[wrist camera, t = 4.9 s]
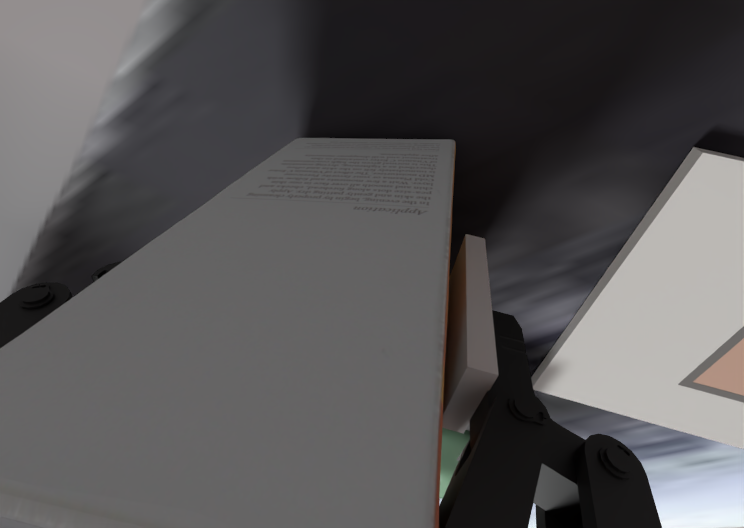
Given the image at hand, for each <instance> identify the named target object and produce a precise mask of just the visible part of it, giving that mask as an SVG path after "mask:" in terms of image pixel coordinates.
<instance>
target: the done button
mask: <svg viewBox="0 0 744 528" xmlns="http://www.w3.org/2000/svg"><path fill="white" fill-rule="evenodd" d="M469 439H470V432H469V431H468V430H465V432H464V434H463V433H459V432H456V431H452V430H449V429H445V428H442V449H441V471H440V494H439V498H442V499H443V497H444V494H445V492H446V490H447V487H448V485H449V483H450V480H451V478H452V476H453V473H454V471H455V469H456V466H457V464H458V462H459V461H457V458H458V457H459V455H460V454H461V452H462V450H463V449H464V447H465V446H466V444H467V443H468V441H469Z"/></svg>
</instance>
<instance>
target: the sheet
mask: <svg viewBox="0 0 744 528" xmlns="http://www.w3.org/2000/svg"><path fill="white" fill-rule="evenodd" d="M531 380H532V385H533V390H536V391H540V392H543V393H547V394H551V395H554V396H558V397H561V398H565V399H568V400H572V401H575V402H579V403H582V404H586V405H589V406H593V407H597V408H600V409H604V410H607V411H611V412H614V413H618V414H621V415H625V416H628V417H632V418H636V419H639V420H643V421H646V422H650V423H653V424H657V425H660V426H664V427H667V428H671V429H674V430H678V431H682V432H685V433H689V434H692V435H696V436H699V437H703V438H706V439H710V440H713V441H717V442H720V443H724V444H728V445H731V446H735V447H738V448H742V449H744V158H742V157H737V156H733V155H728V154H724V153H719V152H715V151H710V150H705V149H701V148H696V147H693V148H692V150H691V151H690V153H689V154H688V155H687V157H686V158H685V160H684V161H683V163H682V164H681V165H680V167H679V168H678V170H677V171H676V172H675V174H674V175H673V177H672V178H671V180H670V181H669V182H668V184H667V185H666V187H665V188H664V190H663V191H662V192H661V194H660V195H659V197H658V198H657V199H656V201H655V202H654V204H653V205H652V207H651V208H650V209H649V211H648V212H647V214H646V215H645V216H644V218H643V219H642V221H641V222H640V224H639V225H638V226H637V228H636V229H635V231H634V232H633V234H632V235H631V236H630V238H629V239H628V241H627V242H626V243H625V245H624V246H623V248H622V249H621V251H620V252H619V253H618V255H617V256H616V258H615V259H614V261H613V262H612V263H611V265H610V266H609V268H608V269H607V270H606V272H605V273H604V275H603V276H602V278H601V279H600V280H599V282H598V283H597V285H596V286H595V288H594V289H593V290H592V292H591V293H590V295H589V296H588V297H587V299H586V300H585V302H584V303H583V305H582V306H581V307H580V309H579V310H578V312H577V313H576V314H575V316H574V317H573V319H572V320H571V322H570V323H569V324H568V326H567V327H566V329H565V330H564V332H563V333H562V334H561V336H560V337H559V339H558V340H557V341H556V343H555V344H554V346H553V347H552V349H551V350H550V351H549V353H548V354H547V356H546V357H545V359H544V360H543V361H542V363H541V364H540V366H539V367H538V368H537V370H536V371H535V373H534V374H533V376H532V377H531Z"/></svg>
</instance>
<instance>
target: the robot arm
mask: <svg viewBox="0 0 744 528" xmlns="http://www.w3.org/2000/svg"><path fill="white" fill-rule="evenodd" d="M120 263H122V262H117V263H113V264H109V265H107V266H105V267H103V268H101V269H99V270H97V271H96V272H95V273H94V274H93V275H92V279H93V282H95V281H96V280H98V279H99V278H101V277H102V276H103V275H105V274H106V273H108V272H109V271H110V270H112V269H113V268H115V267H116V266H117V265H119V264H120ZM71 298H73V297H72V294H71V292H70V290H69V289H68V288H67V287H66V286H65V285H62V284H59V283H41V284H35V285H32V286H29V287H26V288H23V289H21V290H19V291H17V292H15V293H13V294H12V295H10V296H9V297H7V298H6V299H5V300H3V301H2V302H1V303H0V348H2V347H3V346H5V345H6V344H8V343H9V342H10V341H12V340H13V339H15V338H16V337H18V336H19V335H21V334H22V333H24V332H25V331H26V330H28V329H29V328H31V327H32V326H33V325H35V324H36V323H38V322H39V321H41V320H42V319H43V318H45V317H46V316H48V315H49V314H50V313H52V312H53V311H55V310H56V309H57V308H59V307H60V306H62V305H63V304H64V303H66V302H67V301H69V300H70V299H71ZM469 424H470V439H469V441H468V443H467V444H466V446H465V447H464V449H463V450H462V452H461V454H460V455H459V457H458V458H457V461H459V462H458V464H457V466H456V469H455V471H454V473H453V476H452V478H451V480H450V483H449V485H448V487H447V490H446V492H445V494H444V497H443V499H442V501H441V504H440V506H439V528H528V524H529V519H530V515H531V510H532V506H533V503H535V504H536V525H537V528H662V526H661V523H660V519H659V516H658V513H657V509H656V506H655V502H654V499H653V495H652V492H651V489H650V485H649V482H648V478H647V475H646V473H645V470H644V468H643V466H642V464H641V462H640V461H639V460H638V458H637V457H636V456H635V455H634V453H633V452H632V451H631V450H630V449H628V448H627V447H626V446H625V445H624V444H622V443H621V442H620V441H618V440H616V439H614V438H612V437H610V436H607V435H602V434H595V435H591V436H589V437H588V438H587V439H586V440H584V439H583V438H581V437H579V436H577V435H576V434H574V433H572V432H570V431H569V430H567V429H565V428H563V427H562V426H560V425H559V424H557V423H556V422H554V421H553V420H552V419H551V418H550V416H549V414H548V412H547V409H546V407H545V406H544V405H543V404H542V402H541V401H540V400H539V399H538V398H537V397H536V396H535V395H534V391H533V385H532V380H531V375H530V370H529V364H528V359H527V354H526V349H525V344H524V338H523V333H522V328H521V327H520V325H519V324H518V322H517V321H516V319H515V318H514V316H512V315H508V314H504V313H500V312H497V311H493V310H492V304H491V294H490V284H489V274H488V264H487V254H486V244H485V239H484V238H480V237H476V236H472V235H468V234H465V237H464V240H463V242H462V245H461V248H460V251H459V253H458V256H457V259H456V261H455V264H454V267H453V269H452V272H451V275H450V277H449V299H448V317H447V336H446V354H445V373H444V394H443V425H442V428H445V429H449V430H452V431H456V432H459V433H463V434H464V432H465V430H466V429H467V427H468V425H469Z"/></svg>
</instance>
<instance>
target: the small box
mask: <svg viewBox="0 0 744 528" xmlns="http://www.w3.org/2000/svg"><path fill="white" fill-rule="evenodd" d="M455 154H456V142H455V141H454V140H451V139H352V138H297V139H295V140H294V141H292V142H291V143H289V144H288V145H287V146H285V147H284V148H282V149H281V150H279V151H278V152H276V153H275V154H274V155H272V156H271V157H269V158H268V159H266V160H265V161H264V162H262V163H261V164H259V165H258V166H256V167H255V168H254V169H252V170H251V171H249V172H248V173H246V174H245V175H244V176H242V177H241V178H240V179H238V180H237V181H235V182H234V183H232V184H231V185H230V186H228V187H227V188H225V189H224V190H223V191H221V192H220V193H219V194H217V195H216V196H215V197H213V198H212V199H211V200H209V201H208V202H207V203H205V204H204V205H202V206H201V207H200V208H198V209H197V210H195V211H194V212H192V213H191V214H190V215H188V216H187V217H185V218H184V219H183V220H181V221H179V222H178V223H176V224H175V225H174V226H172V227H171V228H170V229H168V230H167V231H165V232H164V233H162V234H161V235H160V236H158V237H157V238H155V239H154V240H152V241H151V242H150V243H148V244H147V245H145V246H144V247H143V248H141V249H140V250H138V251H137V252H136V253H134V254H133V255H131V256H130V257H129V258H127V259H126V260H124V261H123V262H122V263H120V264H119V265H117V266H116V267H115V268H113V269H112V270H110V271H109V272H108V273H106V274H105V275H103V276H102V277H101V278H99V279H98V280H96V281H95V282H94V283H92V284H91V285H89V286H88V287H87V288H85V289H84V290H83V291H81V292H80V293H78V294H77V295H76V296H74V297H73V298H71V299H70V300H69V301H67V302H66V303H64V304H63V305H62V306H60V307H59V308H57V309H56V310H55V311H53V312H52V313H50V314H49V315H48V316H46V317H45V318H43V319H42V320H41V321H39V322H38V323H36V324H35V325H33V326H32V327H31V328H29V329H28V330H26V331H25V332H24V333H22V334H21V335H19V336H18V337H16V338H15V339H13V340H12V341H10V342H9V343H8V344H6V345H5V346H3V347H2V348H0V528H439V494H440V471H441V449H442V425H443V394H444V373H445V354H446V336H447V317H448V299H449V267H450V247H451V229H452V204H453V187H454V170H455Z"/></svg>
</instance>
